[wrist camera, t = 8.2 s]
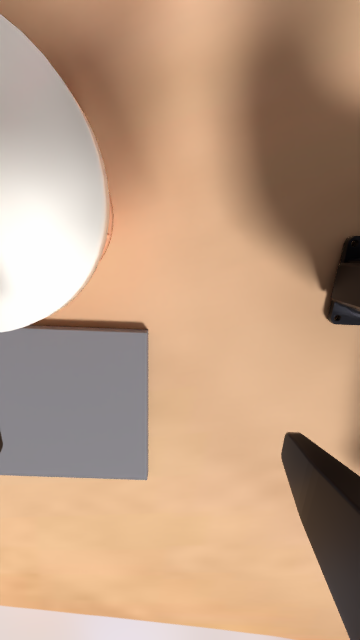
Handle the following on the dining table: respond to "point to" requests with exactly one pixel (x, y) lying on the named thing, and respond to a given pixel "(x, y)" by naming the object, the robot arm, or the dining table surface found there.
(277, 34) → the dining table surface
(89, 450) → the mat
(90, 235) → the lid
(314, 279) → the dining table surface
